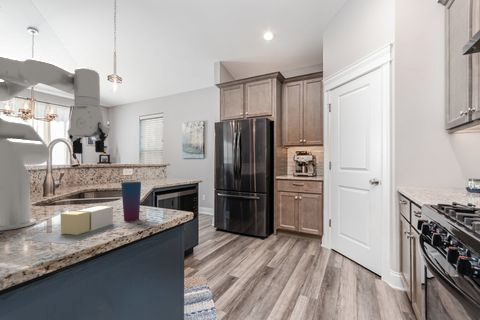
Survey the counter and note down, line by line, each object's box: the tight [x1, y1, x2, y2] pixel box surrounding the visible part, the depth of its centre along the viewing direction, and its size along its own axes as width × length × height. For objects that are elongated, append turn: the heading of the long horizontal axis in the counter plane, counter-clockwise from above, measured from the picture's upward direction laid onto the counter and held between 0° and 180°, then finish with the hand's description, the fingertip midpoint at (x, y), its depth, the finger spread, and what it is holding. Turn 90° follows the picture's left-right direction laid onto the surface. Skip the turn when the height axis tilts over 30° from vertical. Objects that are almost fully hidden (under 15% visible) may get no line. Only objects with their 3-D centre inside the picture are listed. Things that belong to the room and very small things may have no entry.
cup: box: [120, 180, 142, 223], centre depth 85 cm, size 7×7×15 cm
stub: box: [60, 210, 89, 235], centre depth 70 cm, size 6×4×6 cm, turn 75°
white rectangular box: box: [77, 205, 114, 231], centre depth 76 cm, size 6×9×6 cm
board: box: [25, 222, 125, 245], centre depth 71 cm, size 16×20×1 cm
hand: (88, 153), depth 80 cm, fingers open, 9 cm apart
